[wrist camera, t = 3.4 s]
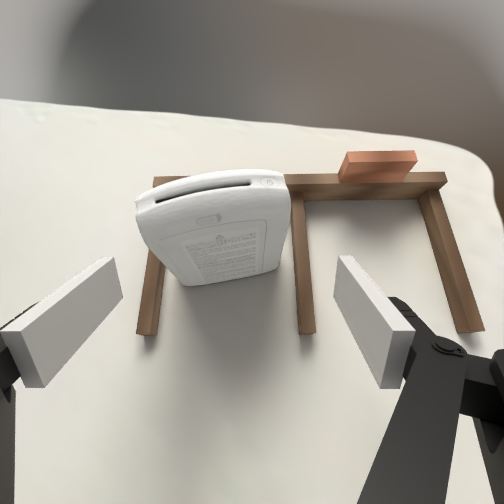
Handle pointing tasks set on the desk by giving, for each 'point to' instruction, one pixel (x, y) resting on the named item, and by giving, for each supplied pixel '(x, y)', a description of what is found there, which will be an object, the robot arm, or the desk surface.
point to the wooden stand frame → (351, 188)
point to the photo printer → (217, 224)
